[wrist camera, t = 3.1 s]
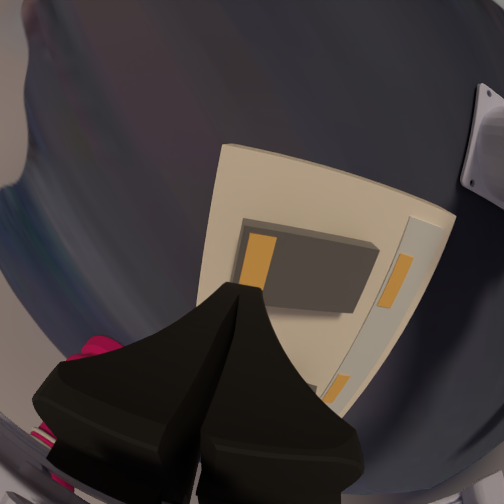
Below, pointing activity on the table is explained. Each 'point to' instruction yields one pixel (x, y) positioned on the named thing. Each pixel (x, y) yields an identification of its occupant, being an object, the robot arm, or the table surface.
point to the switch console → (338, 223)
